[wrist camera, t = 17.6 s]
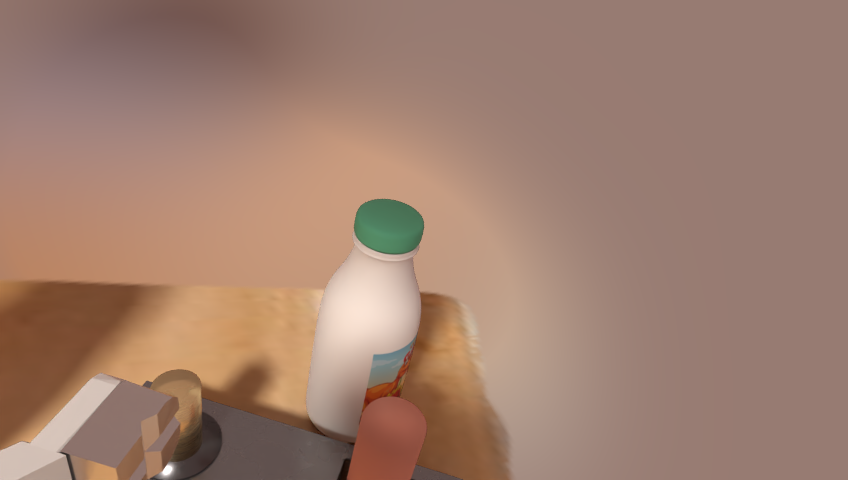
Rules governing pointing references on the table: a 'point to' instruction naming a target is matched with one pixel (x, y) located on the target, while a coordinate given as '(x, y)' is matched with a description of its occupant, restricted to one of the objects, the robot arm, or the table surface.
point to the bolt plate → (249, 443)
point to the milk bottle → (366, 320)
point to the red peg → (388, 441)
